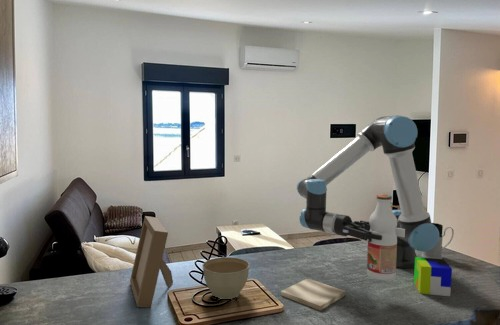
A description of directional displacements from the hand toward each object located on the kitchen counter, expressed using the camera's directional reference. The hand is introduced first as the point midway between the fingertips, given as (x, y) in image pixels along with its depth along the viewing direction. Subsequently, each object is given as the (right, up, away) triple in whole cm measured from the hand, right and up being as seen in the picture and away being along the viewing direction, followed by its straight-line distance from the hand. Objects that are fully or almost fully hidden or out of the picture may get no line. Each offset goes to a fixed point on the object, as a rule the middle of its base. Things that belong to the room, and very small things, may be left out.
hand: (398, 236), depth 127 cm
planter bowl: (-57, -22, +7) cm, 62 cm away
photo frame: (-82, -21, +8) cm, 85 cm away
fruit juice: (-4, -15, +5) cm, 16 cm away
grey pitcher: (+37, -19, +50) cm, 65 cm away
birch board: (-27, -22, +7) cm, 36 cm away
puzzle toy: (+17, -22, +14) cm, 31 cm away
